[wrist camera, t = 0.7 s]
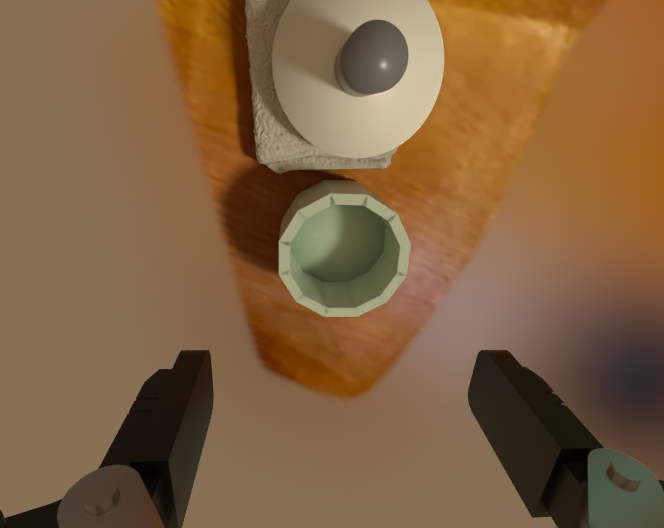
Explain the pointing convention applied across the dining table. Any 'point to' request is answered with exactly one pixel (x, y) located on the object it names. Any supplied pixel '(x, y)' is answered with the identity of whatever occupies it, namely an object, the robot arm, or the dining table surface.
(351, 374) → the dining table surface
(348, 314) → the cup
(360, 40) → the lid
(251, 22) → the washcloth
